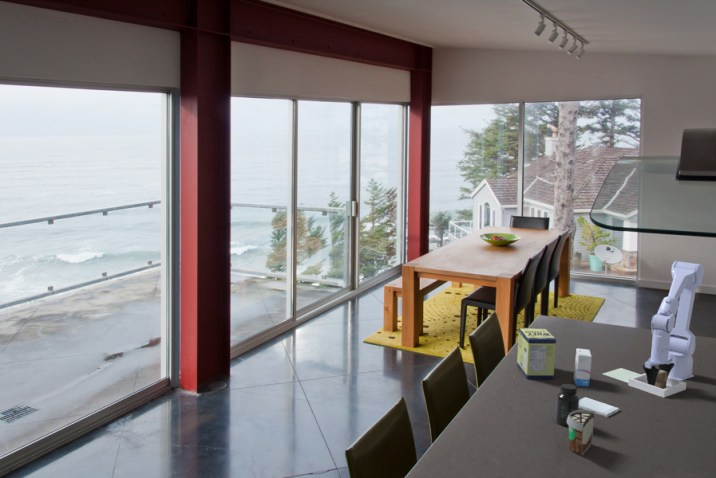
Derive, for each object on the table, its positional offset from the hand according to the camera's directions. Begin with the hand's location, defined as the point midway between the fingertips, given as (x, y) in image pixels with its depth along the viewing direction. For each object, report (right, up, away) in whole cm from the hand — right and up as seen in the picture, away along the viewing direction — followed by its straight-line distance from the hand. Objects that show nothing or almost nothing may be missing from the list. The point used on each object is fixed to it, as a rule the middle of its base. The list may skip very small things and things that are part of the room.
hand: (657, 383), depth 256 cm
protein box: (-40, +1, +15) cm, 43 cm away
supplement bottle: (-42, -6, -30) cm, 52 cm away
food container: (-44, -9, -48) cm, 66 cm away
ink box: (-26, -1, +5) cm, 26 cm away
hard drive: (-28, -5, -18) cm, 34 cm away
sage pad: (-7, 0, +12) cm, 14 cm away
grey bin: (0, -2, 0) cm, 2 cm away
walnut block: (0, -1, 0) cm, 1 cm away
